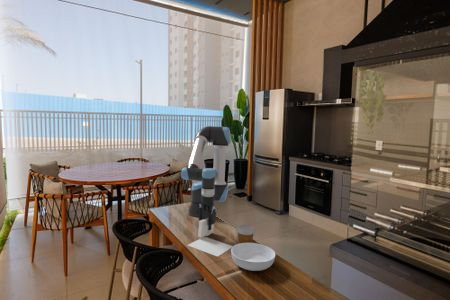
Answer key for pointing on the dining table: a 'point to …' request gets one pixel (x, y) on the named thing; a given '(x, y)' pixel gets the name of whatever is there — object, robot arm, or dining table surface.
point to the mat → (210, 246)
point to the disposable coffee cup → (245, 234)
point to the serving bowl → (253, 256)
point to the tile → (204, 228)
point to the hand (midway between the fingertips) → (206, 234)
